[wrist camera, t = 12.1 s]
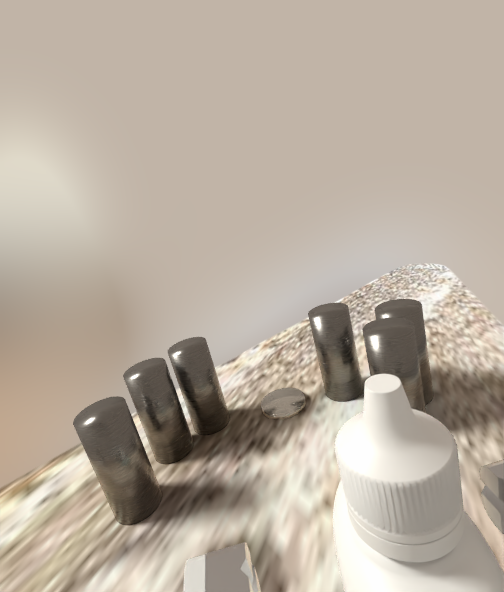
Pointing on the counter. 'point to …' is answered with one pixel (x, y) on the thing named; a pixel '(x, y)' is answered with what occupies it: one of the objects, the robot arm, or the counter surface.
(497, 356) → the counter surface
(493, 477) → the robot arm
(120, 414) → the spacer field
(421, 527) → the eye dropper bottle
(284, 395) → the grey flat disc
